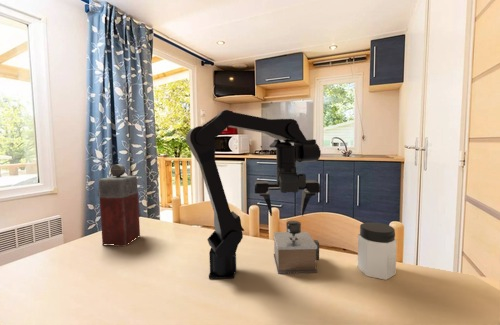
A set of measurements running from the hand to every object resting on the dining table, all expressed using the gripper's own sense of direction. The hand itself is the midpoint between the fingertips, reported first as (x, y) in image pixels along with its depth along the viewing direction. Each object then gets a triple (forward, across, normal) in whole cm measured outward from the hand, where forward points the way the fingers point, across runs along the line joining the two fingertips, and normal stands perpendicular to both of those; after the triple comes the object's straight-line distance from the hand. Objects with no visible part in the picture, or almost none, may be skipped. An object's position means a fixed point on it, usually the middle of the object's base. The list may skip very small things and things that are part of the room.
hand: (286, 215), depth 72 cm
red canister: (+13, -58, +15) cm, 62 cm away
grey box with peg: (+13, +2, -4) cm, 14 cm away
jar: (+13, +23, -8) cm, 27 cm away
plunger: (+13, +2, -4) cm, 14 cm away
